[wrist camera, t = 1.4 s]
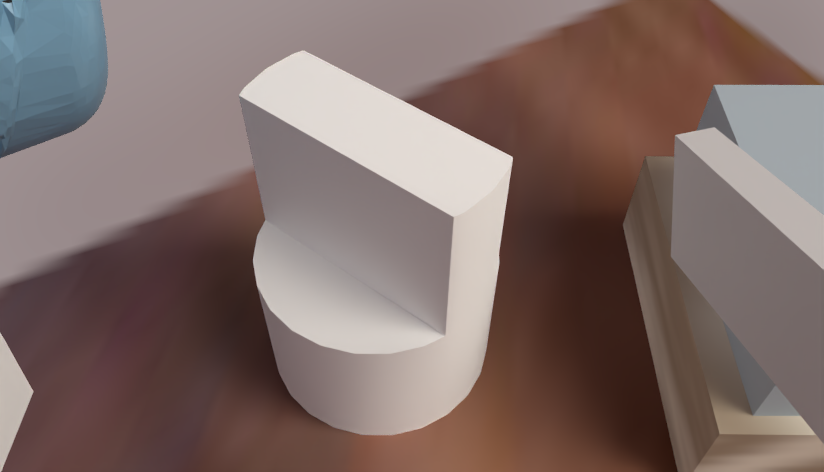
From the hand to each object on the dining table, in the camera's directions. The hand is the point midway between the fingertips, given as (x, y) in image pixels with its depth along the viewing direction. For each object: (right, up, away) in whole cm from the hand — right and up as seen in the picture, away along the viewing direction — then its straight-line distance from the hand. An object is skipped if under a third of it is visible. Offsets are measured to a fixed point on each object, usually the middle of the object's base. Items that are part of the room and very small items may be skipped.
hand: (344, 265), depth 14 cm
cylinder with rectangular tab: (0, -4, +18) cm, 19 cm away
